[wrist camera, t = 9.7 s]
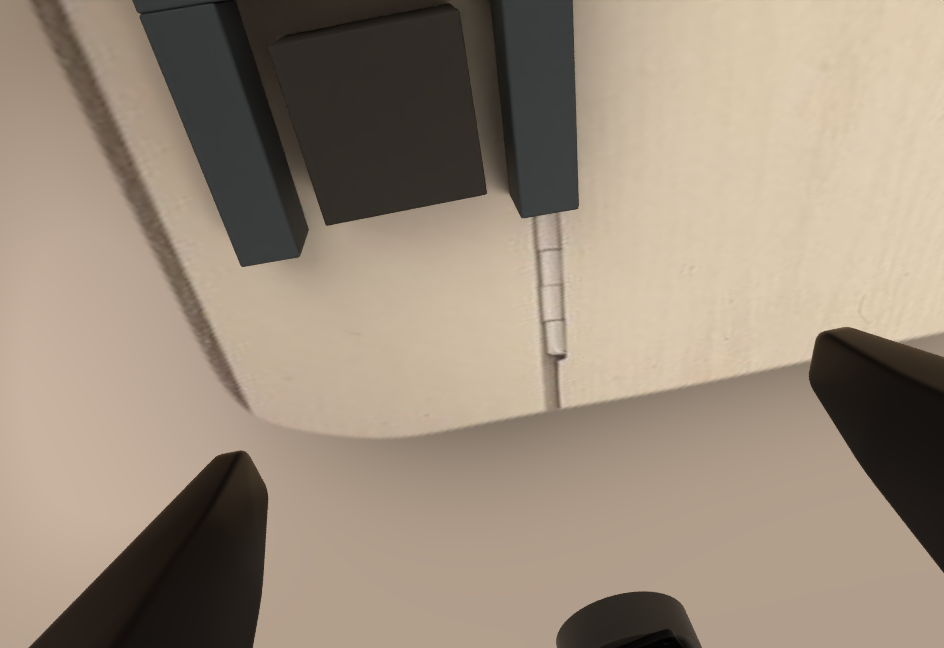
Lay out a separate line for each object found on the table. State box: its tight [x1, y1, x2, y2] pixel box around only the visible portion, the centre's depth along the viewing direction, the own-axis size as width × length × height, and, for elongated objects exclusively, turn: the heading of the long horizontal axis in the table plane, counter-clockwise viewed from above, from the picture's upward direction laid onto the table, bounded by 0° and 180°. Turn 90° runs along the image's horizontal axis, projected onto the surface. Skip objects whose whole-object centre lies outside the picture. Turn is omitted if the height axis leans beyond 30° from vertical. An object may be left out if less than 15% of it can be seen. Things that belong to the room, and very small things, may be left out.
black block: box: [268, 3, 487, 226], centre depth 15 cm, size 4×4×2 cm
